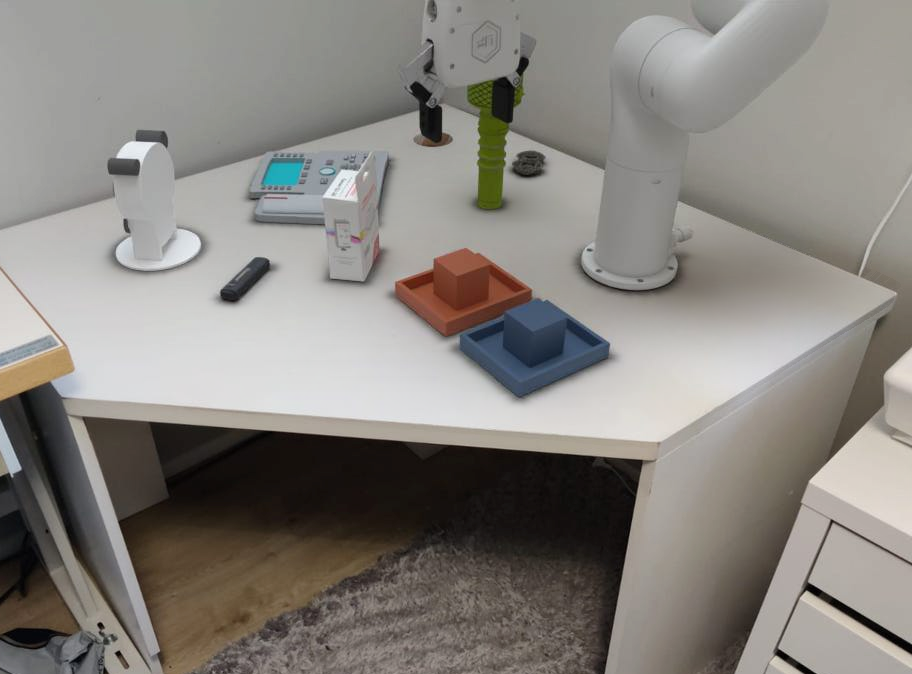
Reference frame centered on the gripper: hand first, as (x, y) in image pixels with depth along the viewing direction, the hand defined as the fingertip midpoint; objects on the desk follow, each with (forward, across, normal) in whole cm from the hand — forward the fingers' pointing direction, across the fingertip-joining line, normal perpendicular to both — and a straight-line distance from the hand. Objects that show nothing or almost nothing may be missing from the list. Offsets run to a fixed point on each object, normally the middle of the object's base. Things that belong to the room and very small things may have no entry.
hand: (467, 128), depth 99 cm
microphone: (+22, +19, +19) cm, 35 cm away
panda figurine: (+22, -27, +34) cm, 49 cm away
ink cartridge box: (+22, -7, +15) cm, 28 cm away
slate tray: (+22, 0, -14) cm, 26 cm away
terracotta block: (+22, 0, 0) cm, 22 cm away
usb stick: (+22, -21, +19) cm, 36 cm away
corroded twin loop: (+22, +32, +26) cm, 47 cm away
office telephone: (+22, 0, +38) cm, 44 cm away
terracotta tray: (+22, 0, 0) cm, 22 cm away
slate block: (+22, 0, -14) cm, 26 cm away
